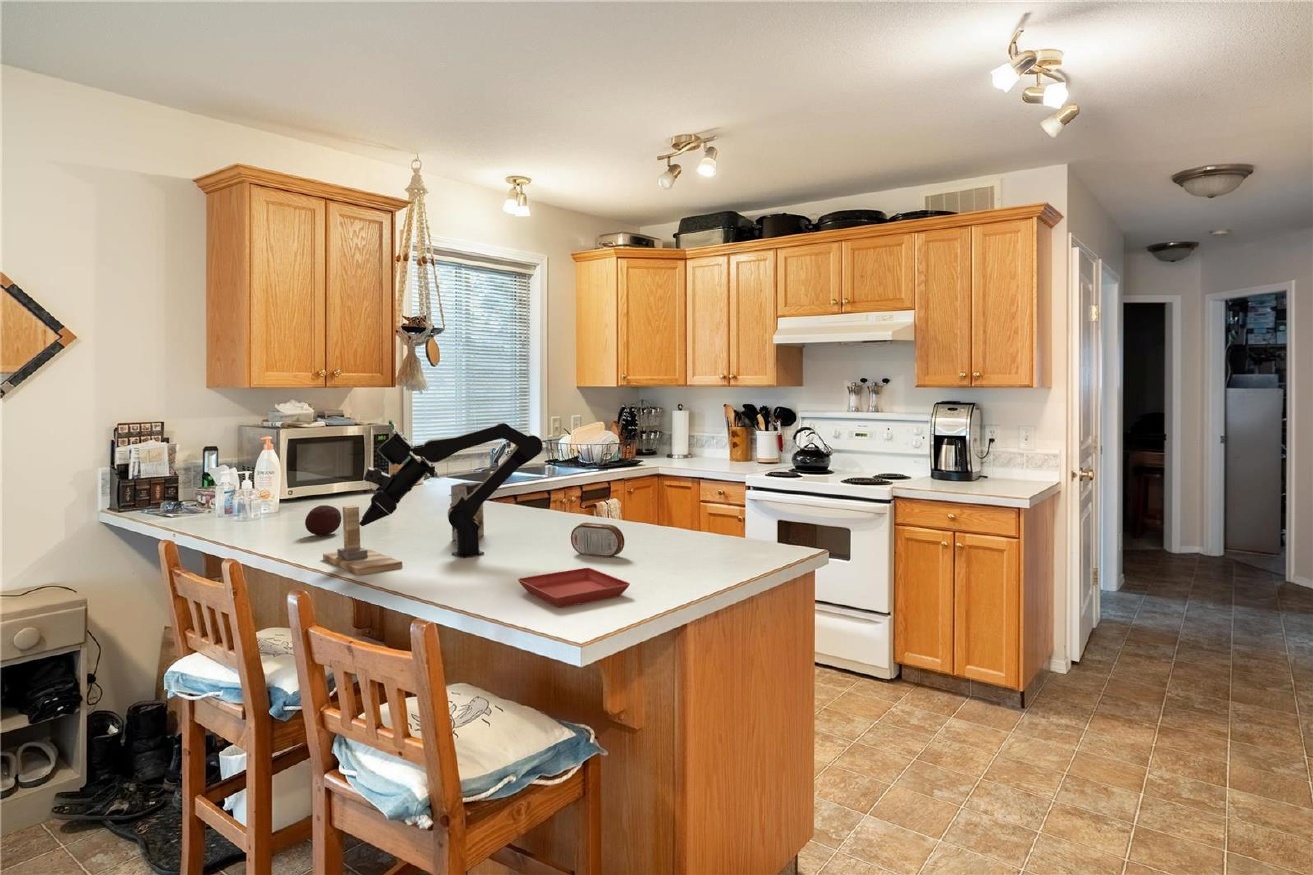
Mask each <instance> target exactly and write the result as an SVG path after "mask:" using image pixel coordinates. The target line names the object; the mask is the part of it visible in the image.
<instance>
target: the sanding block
mask: <svg viewBox="0 0 1313 875" xmlns="http://www.w3.org/2000/svg"><path fill="white" fill-rule="evenodd" d="M359 523H360V507H359V506H357V505H348V506H346V505H345V506H342V525H343V530H342V531H343V547H342V548H337V551H336V552H338V557H340V558H342V559H344V560H347V561H351V560H357V559H364V558H368V553H367V550H366V549H363V548H364V547H361V530H360V528H361V527H360V526H361V525H360V524H359Z"/></svg>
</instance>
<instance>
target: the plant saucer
mask: <svg viewBox="0 0 1313 875" xmlns="http://www.w3.org/2000/svg"><path fill="white" fill-rule="evenodd" d="M517 581H518V582H519V584H520V585H521V586H522V587H523V589H524V590H526V591H527V593H529V594H530V595H532V596H534V597H536V598H538V599H540V600H542V601H544V602H546V603H548V604H551V606H554V607H557V608H565V607H571V606H574V605H575V606H576V605H580V604H585V603H591V602H595V601H600V600H606V599H612V598H616V597H617V598H618V597H620V596H622V595H623V593H624V592H625V591H626V590H627V589H628V588H629V587H630V585H631V583H630V582H628V581H625V580H622V579H619V578H618V577H616V576H615V577H614V576H612V575H610V574H606V573H604V572H602V571H599V570H597V569H593V568H591V567H582V568H576V569H571V570H564V571H558V572H552V573H550V572H549V573H546V574H545V573H544V574H538V575H532V576H526V577H520V578H517Z"/></svg>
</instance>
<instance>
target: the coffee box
mask: <svg viewBox="0 0 1313 875" xmlns="http://www.w3.org/2000/svg"><path fill="white" fill-rule="evenodd" d="M482 482H483V481H482ZM482 482H481V481H478V482H477V481H475V482H474V481H473V482H470V481H469V482H460V483H457V484H453V485H450V492H451V494H450V495H451V496H450V498H451V499H450V500H451V501H450V502H451V503H453V502H454V501H455V500H456V499H457V498H458V496H459V495H460V494H462V496H463V497H466V496H468V495H469V494H471V493H472V492H473V491H474V490H475V489H476V488H477V487H478V486H479V485H480V484H481V483H482ZM451 503H450V504H451ZM473 518H474V519H475V520H476V521H477V522H478V524H479V530H478V534H479V538H480V537H482V536H484V534H485V524H484V502H483V503H482V505H481V506H480V508H479V510H478V511H477V513H476V515H475V516H474V517H473ZM456 531H457V528H455V527H453V526H452V525H451V540H453V541H456Z"/></svg>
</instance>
